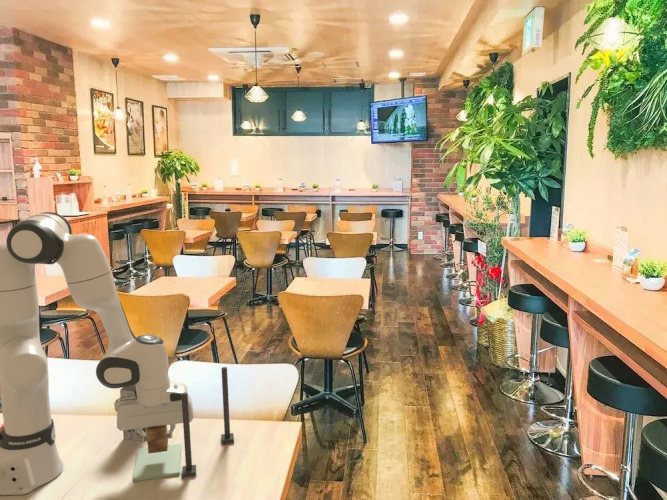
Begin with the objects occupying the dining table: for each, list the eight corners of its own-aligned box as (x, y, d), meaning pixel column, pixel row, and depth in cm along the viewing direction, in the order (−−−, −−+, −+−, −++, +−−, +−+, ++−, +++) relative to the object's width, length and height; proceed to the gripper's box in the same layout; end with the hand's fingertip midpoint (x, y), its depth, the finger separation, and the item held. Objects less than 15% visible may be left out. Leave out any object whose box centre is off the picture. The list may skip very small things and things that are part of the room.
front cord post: (182, 477, 150) (177, 397, 146) (182, 470, 154) (177, 391, 149) (196, 476, 151) (191, 396, 146) (196, 468, 154) (191, 390, 150)
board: (133, 481, 149) (132, 478, 149) (138, 451, 163) (138, 448, 163) (179, 474, 152) (179, 472, 151) (181, 445, 166) (181, 443, 166)
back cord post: (221, 444, 167) (218, 371, 162) (221, 438, 170) (217, 366, 166) (234, 442, 167) (230, 369, 163) (233, 436, 171) (230, 365, 166)
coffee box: (142, 441, 169) (138, 391, 165) (122, 439, 170) (118, 389, 167) (157, 426, 177) (154, 378, 174) (138, 424, 179) (135, 377, 175)
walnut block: (148, 453, 154) (146, 430, 152) (149, 444, 158) (147, 421, 157) (167, 451, 155) (165, 427, 153) (168, 441, 159) (166, 419, 158)
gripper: (111, 402, 148) (116, 450, 151) (191, 393, 152) (194, 440, 155) (115, 392, 154) (119, 438, 157) (191, 384, 158) (194, 428, 161)
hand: (157, 439), depth 156 cm, fingers closed on walnut block, 5 cm apart
